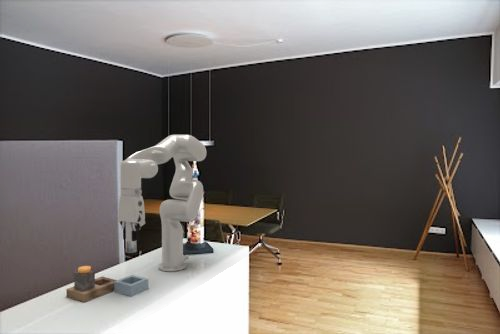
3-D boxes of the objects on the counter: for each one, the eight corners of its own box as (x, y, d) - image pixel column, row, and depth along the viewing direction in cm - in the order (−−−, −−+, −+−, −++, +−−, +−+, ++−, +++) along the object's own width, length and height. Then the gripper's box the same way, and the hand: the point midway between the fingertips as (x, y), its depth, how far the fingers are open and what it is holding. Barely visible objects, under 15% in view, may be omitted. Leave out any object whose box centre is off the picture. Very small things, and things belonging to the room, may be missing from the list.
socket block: (102, 283, 156) (102, 261, 155) (119, 288, 151) (119, 265, 150) (66, 296, 142) (66, 273, 141) (84, 302, 137) (83, 277, 136)
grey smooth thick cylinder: (131, 249, 150) (131, 219, 150) (138, 251, 149) (138, 220, 148) (123, 251, 147) (123, 221, 146) (130, 253, 145) (130, 222, 144)
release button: (85, 284, 145) (85, 265, 145) (93, 286, 143) (93, 267, 143) (75, 288, 142) (75, 268, 141) (83, 290, 139) (83, 270, 139)
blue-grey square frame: (132, 284, 155) (132, 274, 155) (148, 288, 150) (148, 278, 150) (114, 291, 147) (114, 281, 147) (131, 296, 143) (130, 286, 142)
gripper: (154, 193, 146) (154, 240, 147) (123, 190, 154) (123, 235, 155) (139, 195, 139) (139, 244, 140) (107, 191, 147) (108, 238, 148)
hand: (131, 239), depth 148 cm, fingers closed on grey smooth thick cylinder, 4 cm apart
